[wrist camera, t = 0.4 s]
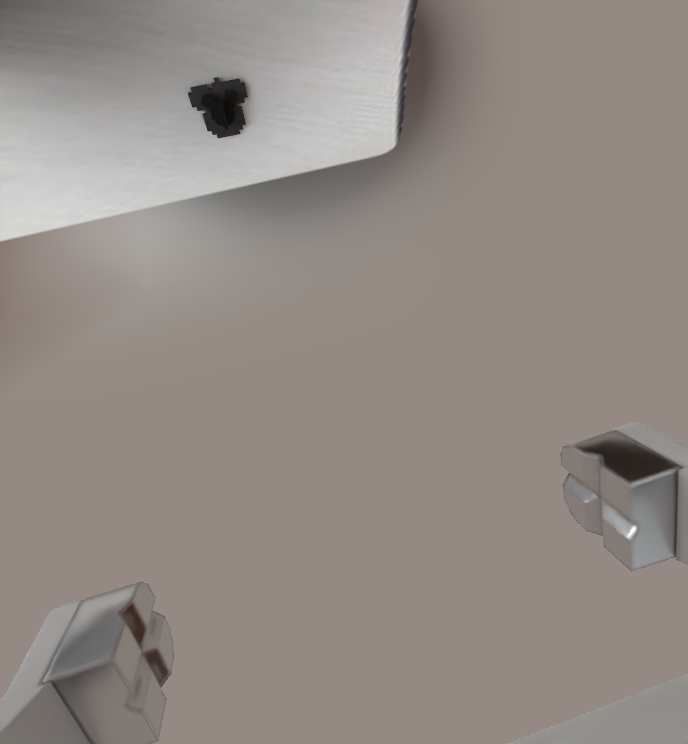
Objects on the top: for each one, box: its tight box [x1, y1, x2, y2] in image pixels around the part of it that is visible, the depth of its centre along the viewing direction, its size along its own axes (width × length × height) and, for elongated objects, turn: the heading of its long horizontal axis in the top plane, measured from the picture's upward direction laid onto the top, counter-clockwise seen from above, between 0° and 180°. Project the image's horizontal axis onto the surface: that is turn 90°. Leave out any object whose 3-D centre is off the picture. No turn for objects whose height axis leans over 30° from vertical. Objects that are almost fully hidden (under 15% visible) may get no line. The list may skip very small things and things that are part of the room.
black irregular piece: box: [188, 78, 248, 138], centre depth 49 cm, size 6×2×6 cm
